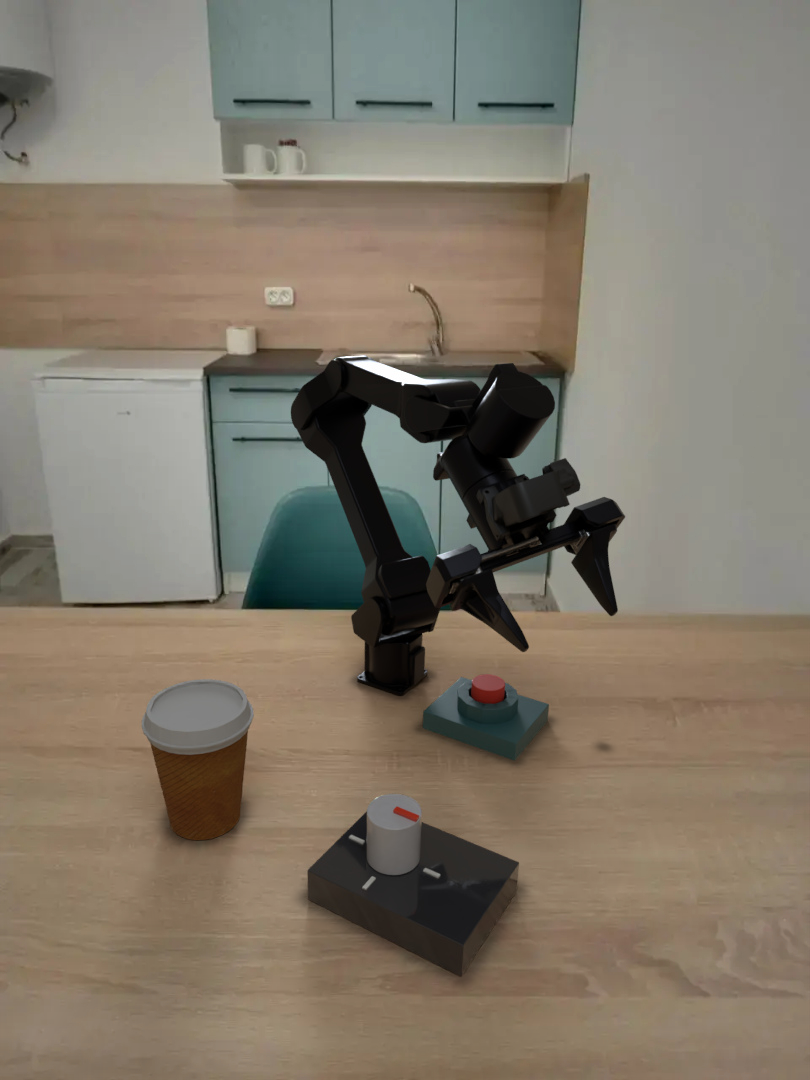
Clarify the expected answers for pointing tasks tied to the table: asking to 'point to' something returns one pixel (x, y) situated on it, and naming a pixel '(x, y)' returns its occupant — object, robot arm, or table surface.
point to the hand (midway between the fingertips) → (571, 631)
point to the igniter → (486, 719)
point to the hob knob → (393, 834)
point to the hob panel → (419, 893)
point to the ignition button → (488, 689)
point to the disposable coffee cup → (200, 753)
